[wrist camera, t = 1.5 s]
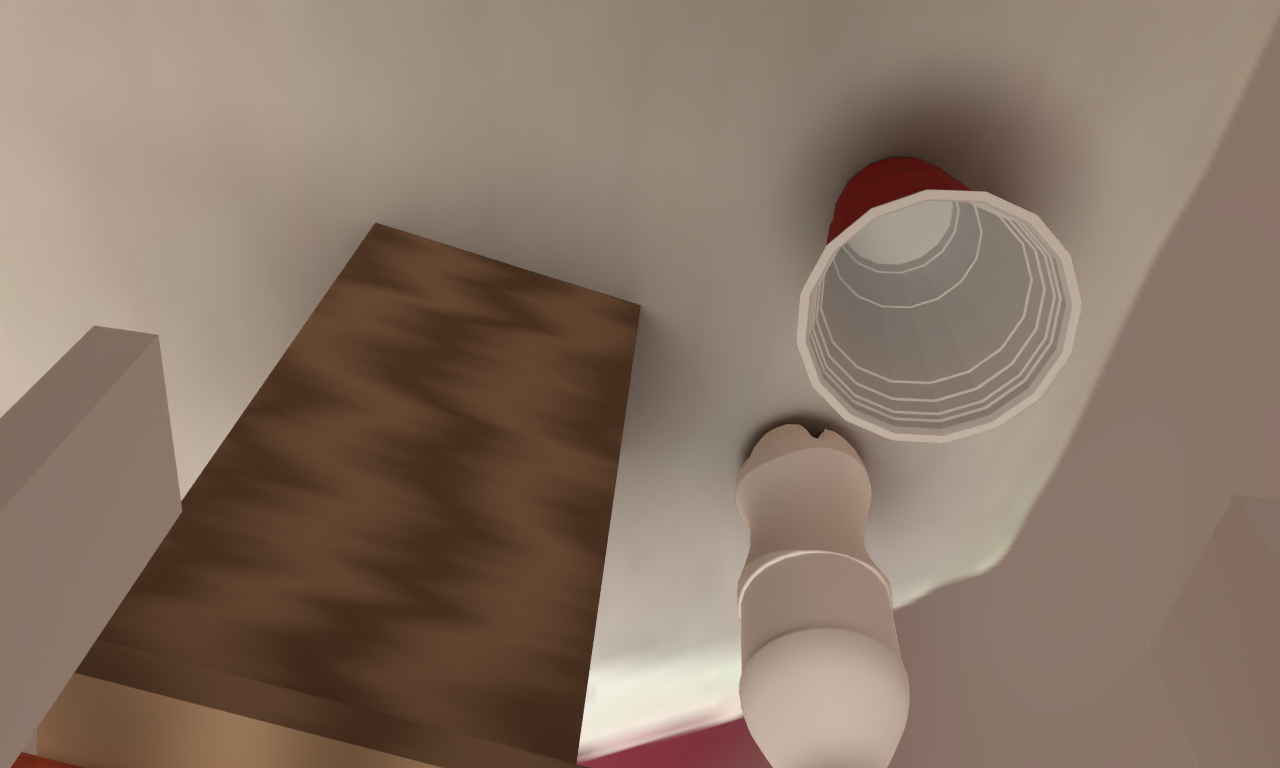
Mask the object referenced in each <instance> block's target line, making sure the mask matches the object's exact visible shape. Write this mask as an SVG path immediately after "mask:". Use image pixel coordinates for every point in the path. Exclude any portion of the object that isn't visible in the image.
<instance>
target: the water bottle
mask: <svg viewBox="0 0 1280 768" xmlns="http://www.w3.org/2000/svg"><path fill="white" fill-rule="evenodd" d="M736 504H737V508H738V511H739V513H740V515H741V517H742V519H743V520H744V522H745V523H746V525H747V526H748V527H749V528H750V532H751V536H750V549H749V554H748V557H747V560H746V563H745V566H744V569H743V571H742V573H741V576H740V579H739V582H738V590H737V597H738V615H739V619H740V622H741V652H742V675H741V679H740V684H739V694H740V700H741V707H742V711H743V714H744V718H745V720H746V723H747V726H748V728H749V731H750V733H751V735H752V736H753V738H754V740H755V741H756V743H757V745H758V746H759V748H760V749H761V750H762V752H763V754H764V755H765V757H766V758H767V759H768V761H769V763H770V764H771V765H772V767H773V768H887V767H888V764H889V763H890V761H891V759H892V757H893V755H894V752H895V750H896V748H897V746H898V743H899V741H900V738H901V736H902V734H903V731H904V728H905V725H906V721H907V717H908V710H909V700H910V696H909V695H910V694H909V681H908V677H907V673H906V670H905V668H904V666H903V664H902V660H901V655H900V651H899V644H898V640H897V634H896V629H895V624H894V618H893V613H892V610H893V599H892V593H891V587H890V583H889V580H888V579H887V577H886V576H885V575H884V574H883V572H882V571H881V570H880V569H879V568H878V567H877V566H876V565H875V563H874V562H873V561H872V560H871V558H870V557H869V555H868V553H867V551H866V548H865V543H864V530H865V524H866V520H867V517H868V514H869V510H870V506H871V485H870V480H869V476H868V473H867V470H866V468H865V466H864V464H863V462H862V460H861V458H860V457H859V455H858V454H857V452H856V451H855V449H854V448H853V447H852V446H851V445H850V444H849V443H848V442H847V441H846V440H845V439H844V438H843V437H841V436H840V435H839V434H837V433H836V432H834V431H831V430H827V429H824V431H823V432H822V433H821V434H820V435H819V437H818V438H814V437H812V436H811V435H810V434H809V432H808V431H807V430H806V429H805V428H804V427H803V426H801V425H798V424H794V425H793V424H786V425H782V426H779V427H777V428H775V429H772V430H771V431H769V432H768V433H766V434H765V435H764V436H763V437H762V438H761V439H760V441H759V442H758V443H757V444H756V445H755V447H754V449H753V450H752V452H751V455H750V457H749V458H747V459H746V460H745V462H744V464H743V465H742V466H741V468H740V470H739V473H738V477H737V485H736Z"/></svg>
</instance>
